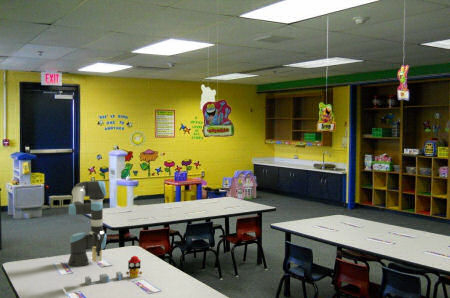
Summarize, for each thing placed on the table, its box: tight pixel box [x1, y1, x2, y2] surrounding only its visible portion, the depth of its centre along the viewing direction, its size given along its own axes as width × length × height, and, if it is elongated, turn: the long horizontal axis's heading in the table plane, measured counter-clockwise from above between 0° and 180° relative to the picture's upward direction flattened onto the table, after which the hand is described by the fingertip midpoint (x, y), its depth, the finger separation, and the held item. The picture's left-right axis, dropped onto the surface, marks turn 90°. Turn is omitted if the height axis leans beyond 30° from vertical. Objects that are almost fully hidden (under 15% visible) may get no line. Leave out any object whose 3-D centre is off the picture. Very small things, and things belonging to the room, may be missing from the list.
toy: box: [125, 255, 143, 279], centre depth 317 cm, size 11×9×15 cm
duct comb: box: [84, 271, 124, 286], centre depth 304 cm, size 6×24×5 cm, turn 121°
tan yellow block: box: [91, 246, 103, 262], centre depth 301 cm, size 5×5×9 cm
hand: (96, 259), depth 302 cm, fingers closed on tan yellow block, 5 cm apart
